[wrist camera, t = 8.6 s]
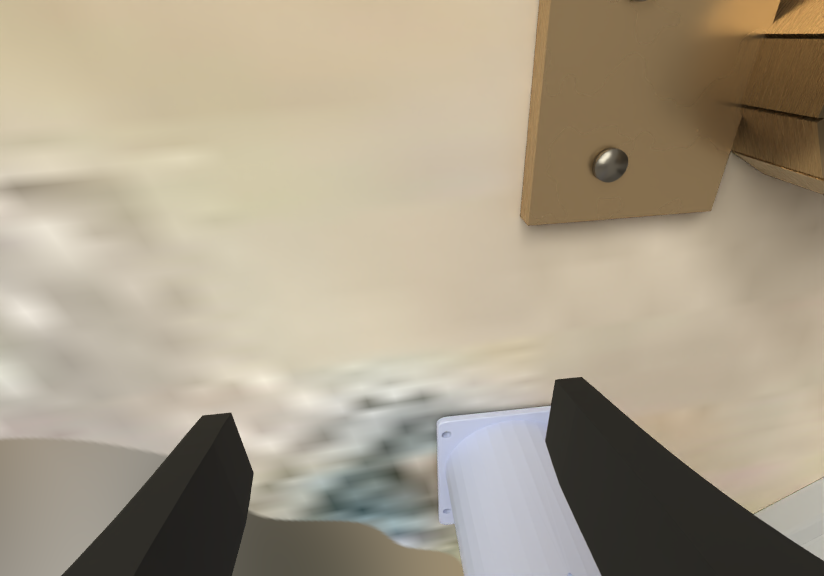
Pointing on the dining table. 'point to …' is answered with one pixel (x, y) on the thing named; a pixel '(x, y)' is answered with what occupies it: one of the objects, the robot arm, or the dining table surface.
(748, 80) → the hinge leaves
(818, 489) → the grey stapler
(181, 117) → the dining table surface
